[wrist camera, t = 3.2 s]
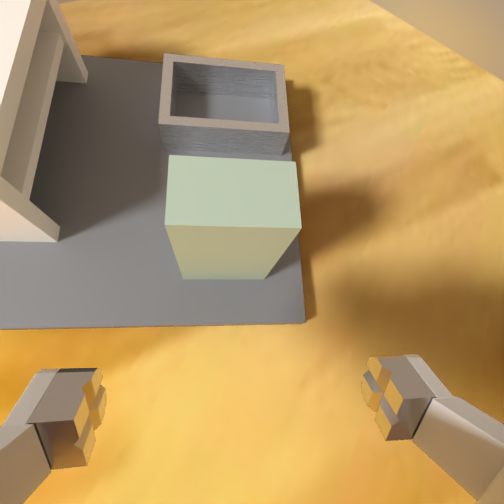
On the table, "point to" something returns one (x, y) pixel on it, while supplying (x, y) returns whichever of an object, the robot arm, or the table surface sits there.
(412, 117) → the table surface
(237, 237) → the tall mint green pillar
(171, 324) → the gray base with shelf
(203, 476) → the table surface
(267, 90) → the hollow rectangular frame
